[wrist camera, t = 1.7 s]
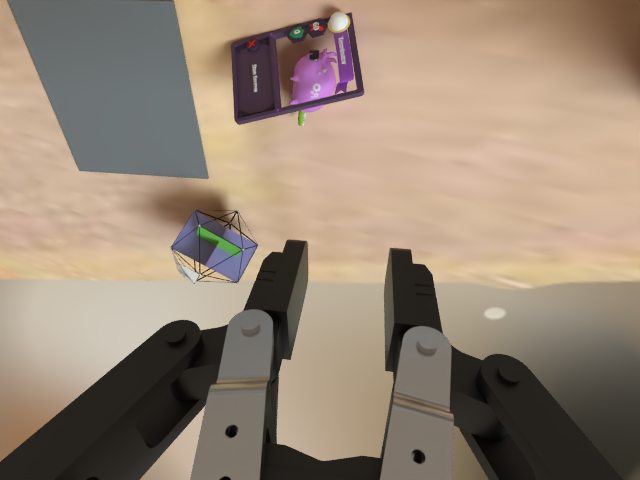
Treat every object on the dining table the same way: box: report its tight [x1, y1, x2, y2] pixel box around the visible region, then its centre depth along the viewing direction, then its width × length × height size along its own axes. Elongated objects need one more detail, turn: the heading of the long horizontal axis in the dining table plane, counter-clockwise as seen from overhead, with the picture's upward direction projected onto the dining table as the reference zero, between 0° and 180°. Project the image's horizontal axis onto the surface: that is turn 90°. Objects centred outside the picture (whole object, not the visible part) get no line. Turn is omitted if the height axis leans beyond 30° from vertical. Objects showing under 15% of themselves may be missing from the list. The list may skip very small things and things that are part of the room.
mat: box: [7, 0, 209, 179], centre depth 31 cm, size 13×14×1 cm
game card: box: [231, 11, 364, 126], centre depth 27 cm, size 7×5×9 cm
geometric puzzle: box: [170, 209, 259, 284], centre depth 34 cm, size 7×7×8 cm
